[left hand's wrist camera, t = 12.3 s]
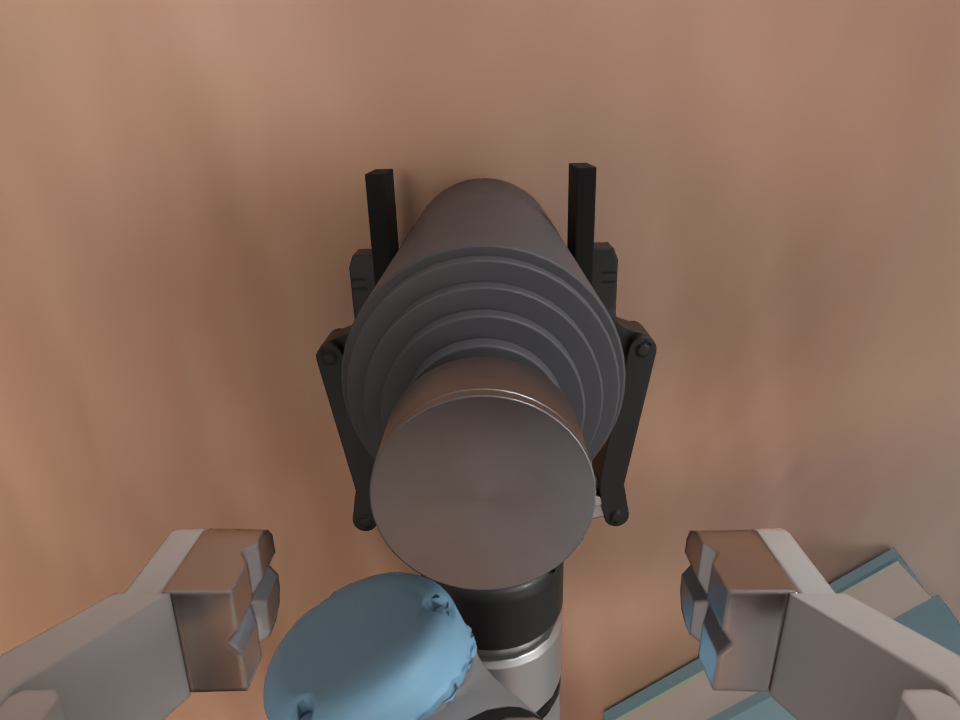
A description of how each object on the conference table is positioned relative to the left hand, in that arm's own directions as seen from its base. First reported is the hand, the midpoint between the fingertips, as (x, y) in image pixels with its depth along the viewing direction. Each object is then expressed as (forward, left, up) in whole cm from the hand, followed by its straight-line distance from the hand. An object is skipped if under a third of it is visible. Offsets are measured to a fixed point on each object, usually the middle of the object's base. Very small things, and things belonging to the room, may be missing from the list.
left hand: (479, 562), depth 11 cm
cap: (0, 0, -2) cm, 2 cm away
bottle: (0, 0, -26) cm, 26 cm away
